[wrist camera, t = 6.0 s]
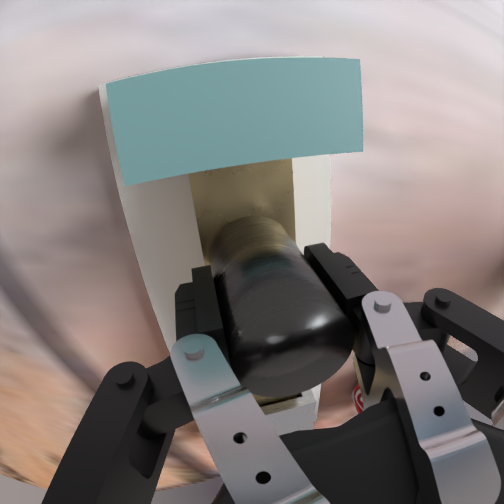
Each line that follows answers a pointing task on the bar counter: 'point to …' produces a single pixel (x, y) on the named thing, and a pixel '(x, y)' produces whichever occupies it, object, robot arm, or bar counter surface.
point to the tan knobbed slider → (267, 282)
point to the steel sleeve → (292, 413)
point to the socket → (235, 114)
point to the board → (185, 225)
